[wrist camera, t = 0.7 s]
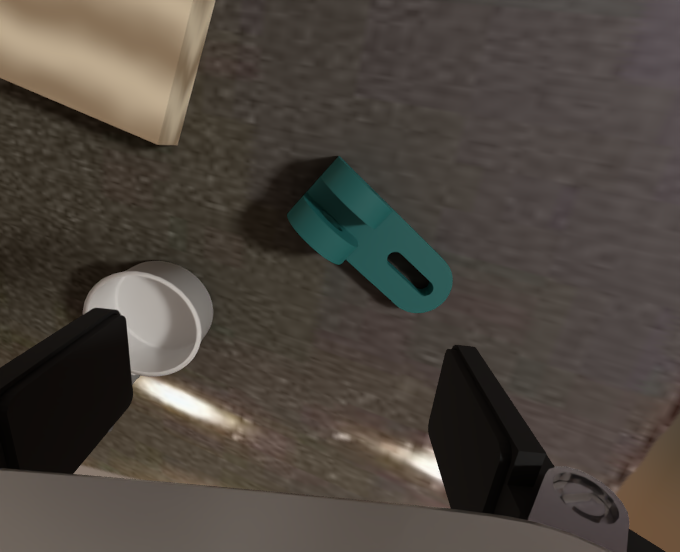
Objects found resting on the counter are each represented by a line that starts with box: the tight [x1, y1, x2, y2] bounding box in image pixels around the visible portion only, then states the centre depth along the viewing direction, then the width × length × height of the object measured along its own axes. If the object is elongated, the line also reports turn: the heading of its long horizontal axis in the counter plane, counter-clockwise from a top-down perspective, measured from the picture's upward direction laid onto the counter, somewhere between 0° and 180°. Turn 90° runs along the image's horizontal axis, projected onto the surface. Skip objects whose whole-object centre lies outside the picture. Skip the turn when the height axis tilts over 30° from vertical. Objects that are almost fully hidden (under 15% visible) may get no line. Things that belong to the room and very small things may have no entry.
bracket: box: [287, 156, 453, 313], centre depth 35 cm, size 18×7×8 cm, turn 47°
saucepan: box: [83, 261, 213, 432], centre depth 39 cm, size 12×20×6 cm, turn 153°
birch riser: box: [0, 0, 215, 145], centre depth 30 cm, size 14×14×4 cm
